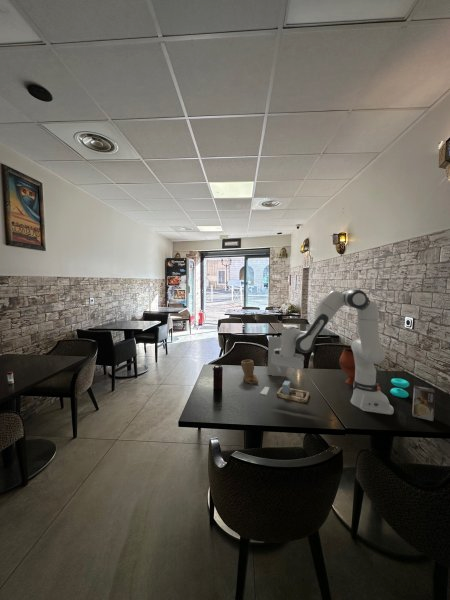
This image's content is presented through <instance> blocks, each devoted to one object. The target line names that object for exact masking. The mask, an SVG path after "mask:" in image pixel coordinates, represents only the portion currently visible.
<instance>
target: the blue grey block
mask: <svg viewBox="0 0 450 600" xmlns="http://www.w3.org/2000/svg"><path fill="white" fill-rule="evenodd" d="M290 388H291V381H289V380H284V382H283V383H282V392H281V393H282V394H286V395H290V394H291V392H290Z"/></svg>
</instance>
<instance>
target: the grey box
mask: <svg viewBox="0 0 450 600" xmlns="http://www.w3.org/2000/svg"><path fill="white" fill-rule="evenodd" d="M281 337H282V336H268V345H267V346H268V349H267V350H268V351H267V370H266V371H267V372H266V374H267V376H269V375H272V376H271V377H287V369H288V367H285V366H280V365H279V368H280V369H281V372H278V369H277V367H276V365H275V364H272V363H271V358H272V355H273V354H274V353H273V351H274V350H275V349H277V348H281V344H282V341H281Z"/></svg>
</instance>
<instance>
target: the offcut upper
mask: <svg viewBox="0 0 450 600" xmlns="http://www.w3.org/2000/svg"><path fill="white" fill-rule="evenodd" d="M295 396H296V397H300V398H304V395H303V393H300V392H296V393H295Z"/></svg>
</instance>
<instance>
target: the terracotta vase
mask: <svg viewBox="0 0 450 600" xmlns="http://www.w3.org/2000/svg"><path fill="white" fill-rule="evenodd" d="M338 364H339V368H341V370H342V371H343V373H345V374H346V375H347V376H348V378H347V379H346V380H345V383H346V384H347V385H349V386H353V385H354V379H355V360H354V354H353V351H352V348H351V347H349V348H348V347H345V348H343V351H342V354H341V355H340V357H339V363H338Z"/></svg>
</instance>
